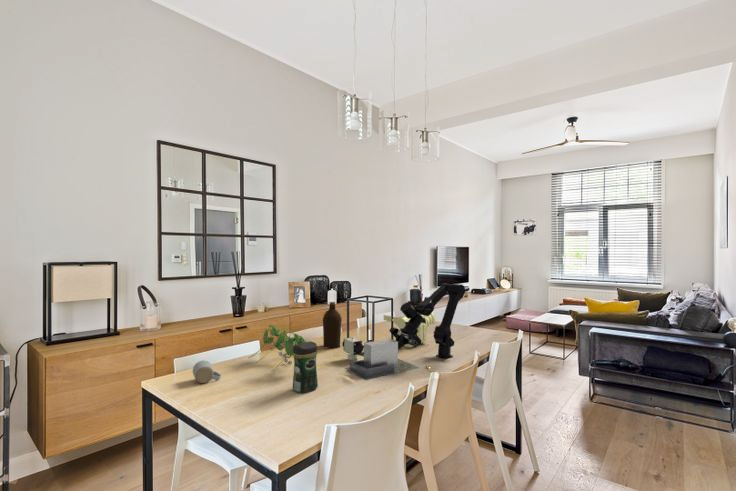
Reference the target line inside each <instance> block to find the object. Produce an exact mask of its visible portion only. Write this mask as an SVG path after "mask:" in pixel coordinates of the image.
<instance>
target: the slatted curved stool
mask: <svg viewBox="0 0 736 491" xmlns="http://www.w3.org/2000/svg"><path fill="white" fill-rule="evenodd" d="M421 316H422V317H424V318H425V320H426V324H425V323H421V324H420V326H419V327H418V329H417V330H418V333H417V336H418V337H419V338H420V339H421V344H424V343H425V342H426V341H427V333H428V328H429V327H430V326H431V325H435V324H436V322H435V321H436V317H435V314H434V312H432V313H431V314H430V315H429V316H424V315H421ZM392 317H393V319H392V321H393V324H395V325H396V326H397V327H398V330H399V331H400V329H401V328H402V329H403V328H404V327H405V325H406V324H405V322H408V321H409V320H410V319H408V318H407V317H406V316H405V315H404V317H396V316H392ZM383 321H386V322H390V323H392V322H391V315H386V314H384V315H383ZM400 332H401V331H400ZM393 340H396V338H395V339H393ZM421 344H420V345H421ZM403 347H406V348H413V347H414V346H413V345H410V344H406V345H404V346H403Z"/></svg>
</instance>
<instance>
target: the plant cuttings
mask: <svg viewBox="0 0 736 491" xmlns="http://www.w3.org/2000/svg"><path fill="white" fill-rule="evenodd" d="M268 327H269V328H265V329H264V332H263V338H262V340H263V345H262V347H264V346H265V345H269V346H271V345H272V343H273V345H272V346H271V347H269V349H270V351H268V352H267V353H266V354H265V356H267V355H268V354H269V353H270V352H272V351H273V350H275V349H276V350H278V355H279V356H280V357H281V358H282V359H283V360H282V361H280V363H279V364H278V365H276V366H275V368H273V370H271V371H270V372H272V373H273V372H274V371H275V369H278V368H279V367H280V366H282V365H283V364H284V363H286V364H288V365H289V366H290V365H292V364H293V361H292V360H289V359H290V358H291V357H292V356H293V346H294V345H295V344H300V343H304V342H309V341H308V340H305V338H304V337H303V336H302V335H300V334H298V333H294V332H293V330H292V329H291V328H289V329H288V330H287V329H286V328H285V325H283V326H279V329H278V327H277V326H276V325H274V324H273V325H272V324H268ZM280 331H281V332H280ZM269 332H270V333H269ZM289 333H291V334H292V335H293V337H292V336H290V334H289ZM269 334H270V335H271V336H270V337H268V335H269ZM275 337H277V339H276V342H275V341H274V338H275ZM282 344H283V345H282ZM283 350H285V353H283V352H282V351H283ZM260 351H261V349H258V351H257V352H256V353H255V352H254V354H253V355H251V356H248V357H247V358H248V359H249V358H253V357H254V356H255V355H257V354H258V353H259V352H260ZM263 358H264V356H262V358H260V359H259V360H258V361H256V364H258V363H259V362H260V361H261V360H262V359H263Z"/></svg>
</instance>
